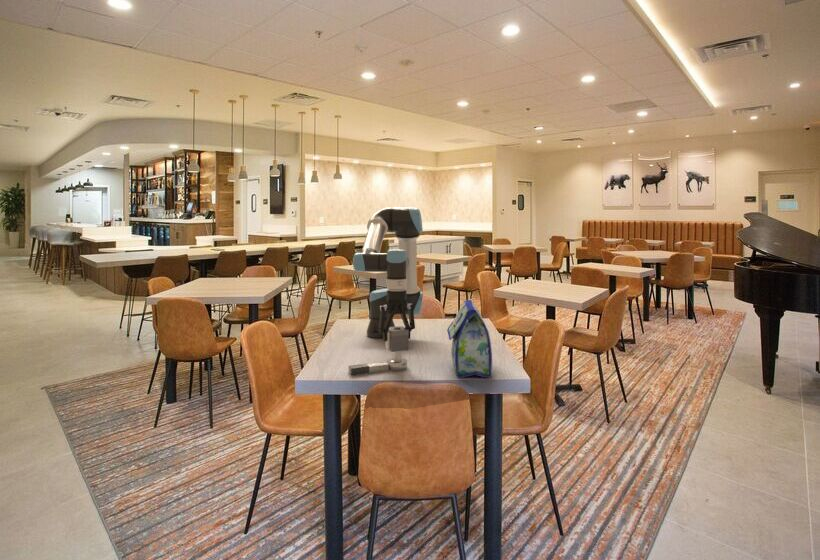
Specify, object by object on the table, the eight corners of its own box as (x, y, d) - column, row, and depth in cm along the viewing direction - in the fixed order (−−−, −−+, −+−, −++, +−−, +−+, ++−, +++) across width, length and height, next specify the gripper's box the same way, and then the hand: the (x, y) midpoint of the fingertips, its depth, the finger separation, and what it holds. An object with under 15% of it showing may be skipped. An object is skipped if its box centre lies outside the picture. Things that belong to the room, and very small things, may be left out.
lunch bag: (446, 361, 196) (447, 298, 193) (487, 362, 195) (488, 298, 192) (449, 379, 174) (450, 308, 171) (495, 379, 173) (496, 308, 170)
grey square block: (385, 347, 188) (385, 326, 187) (401, 345, 191) (401, 325, 190) (391, 351, 182) (391, 330, 181) (408, 350, 184) (408, 328, 183)
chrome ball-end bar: (347, 370, 183) (346, 351, 182) (402, 364, 192) (402, 345, 191) (352, 377, 176) (352, 357, 175) (410, 369, 185) (410, 350, 184)
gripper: (375, 292, 176) (375, 353, 179) (424, 289, 184) (424, 347, 186) (368, 289, 183) (369, 348, 186) (416, 287, 191) (416, 343, 193)
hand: (396, 348), depth 186 cm, fingers closed on grey square block, 7 cm apart
